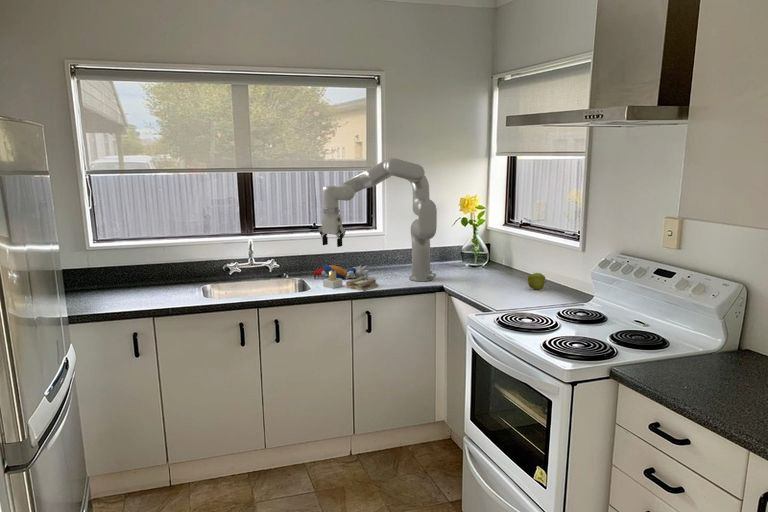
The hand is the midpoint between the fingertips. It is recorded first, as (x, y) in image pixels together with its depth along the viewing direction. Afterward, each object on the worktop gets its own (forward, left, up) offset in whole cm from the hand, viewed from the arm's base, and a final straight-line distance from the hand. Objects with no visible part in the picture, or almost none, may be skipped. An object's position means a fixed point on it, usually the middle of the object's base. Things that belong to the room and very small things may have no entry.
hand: (332, 245), depth 280 cm
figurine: (+8, -16, -21) cm, 27 cm away
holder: (0, +1, -21) cm, 21 cm away
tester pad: (-13, -6, -19) cm, 23 cm away
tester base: (-13, -6, -21) cm, 25 cm away
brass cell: (0, +1, -20) cm, 20 cm away
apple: (-86, -50, -21) cm, 102 cm away
